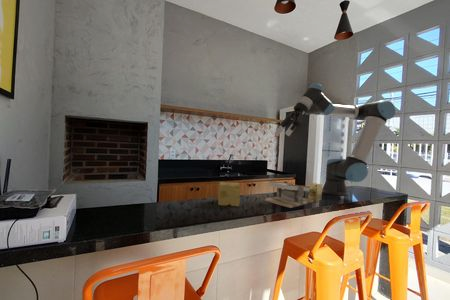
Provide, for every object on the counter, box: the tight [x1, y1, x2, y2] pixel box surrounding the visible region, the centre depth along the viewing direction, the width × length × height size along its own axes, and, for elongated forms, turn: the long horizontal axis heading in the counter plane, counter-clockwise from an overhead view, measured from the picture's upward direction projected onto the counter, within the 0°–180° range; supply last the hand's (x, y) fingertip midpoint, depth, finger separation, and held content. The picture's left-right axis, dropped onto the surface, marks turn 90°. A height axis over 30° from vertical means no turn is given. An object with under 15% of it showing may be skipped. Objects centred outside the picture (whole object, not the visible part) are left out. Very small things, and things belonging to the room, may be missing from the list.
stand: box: [264, 187, 314, 209], centre depth 125 cm, size 22×16×9 cm
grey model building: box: [268, 180, 310, 197], centre depth 125 cm, size 22×11×6 cm, turn 132°
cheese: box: [217, 181, 241, 207], centre depth 115 cm, size 10×11×10 cm
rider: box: [307, 182, 323, 202], centre depth 133 cm, size 6×5×9 cm
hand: (281, 135), depth 130 cm, fingers open, 13 cm apart
